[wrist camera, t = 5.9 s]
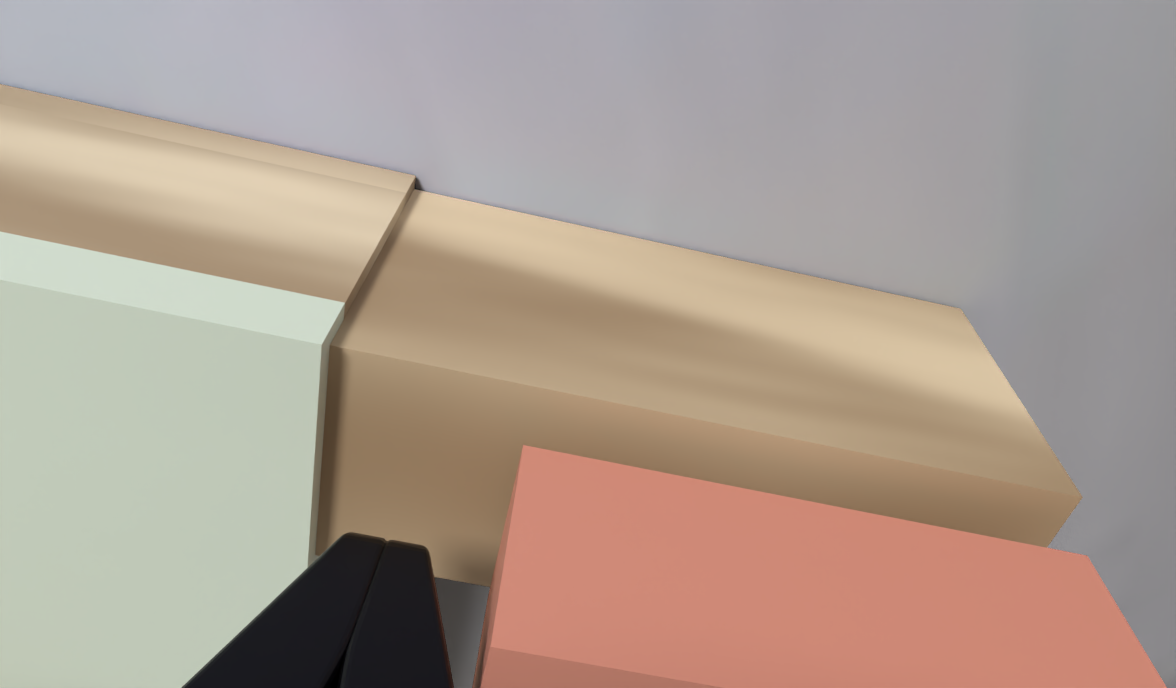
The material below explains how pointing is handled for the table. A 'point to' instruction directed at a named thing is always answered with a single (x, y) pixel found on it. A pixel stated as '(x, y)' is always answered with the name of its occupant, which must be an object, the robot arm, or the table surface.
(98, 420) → the lid
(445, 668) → the robot arm
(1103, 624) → the block
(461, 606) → the table surface
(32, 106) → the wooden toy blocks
